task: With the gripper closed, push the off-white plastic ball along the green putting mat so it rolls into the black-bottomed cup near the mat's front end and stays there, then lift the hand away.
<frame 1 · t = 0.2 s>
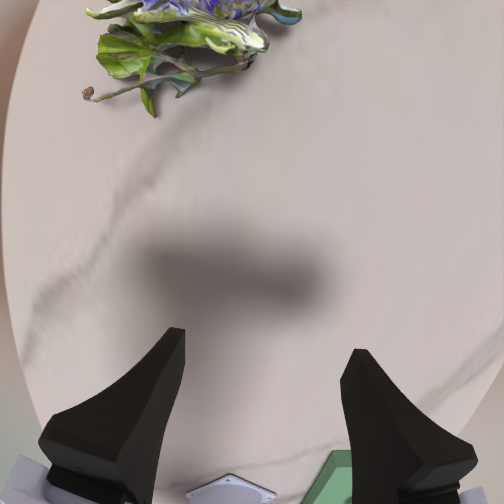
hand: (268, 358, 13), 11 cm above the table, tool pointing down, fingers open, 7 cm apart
passion flower: (193, 49, 19), on the table
putting mat: (345, 497, 33), on the table
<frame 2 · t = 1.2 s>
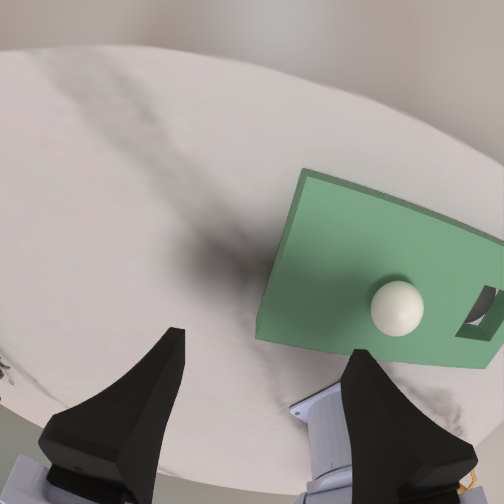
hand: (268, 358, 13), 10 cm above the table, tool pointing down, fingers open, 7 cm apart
ball: (397, 308, 19), point 4 cm above the table, touching putting mat
putting mat: (419, 286, 23), on the table
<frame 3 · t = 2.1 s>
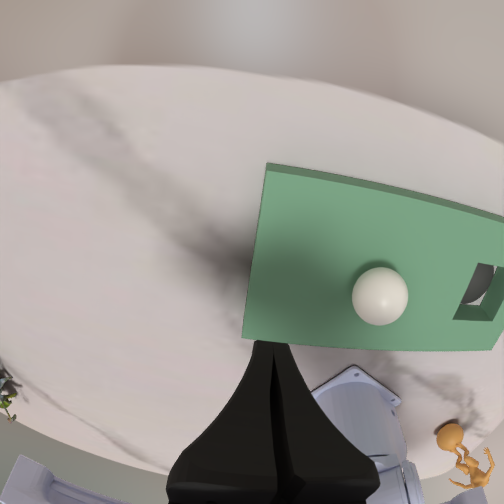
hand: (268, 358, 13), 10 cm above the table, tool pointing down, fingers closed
figurine: (450, 424, 33), on the table
ball: (380, 296, 19), point 4 cm above the table, touching putting mat
putting mat: (409, 270, 22), on the table
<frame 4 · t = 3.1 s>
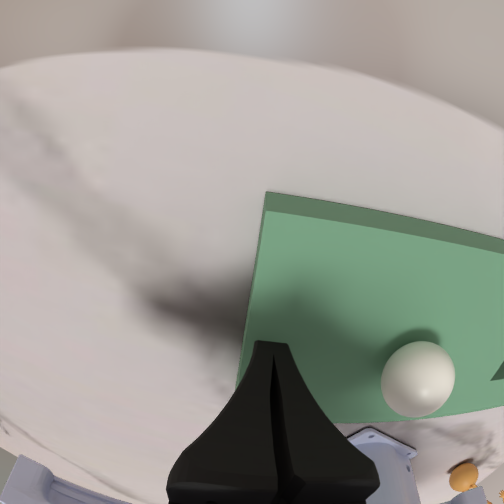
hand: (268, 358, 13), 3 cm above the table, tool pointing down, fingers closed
figurine: (464, 463, 27), on the table
ball: (418, 379, 12), point 4 cm above the table, touching putting mat
putting mat: (447, 326, 16), on the table
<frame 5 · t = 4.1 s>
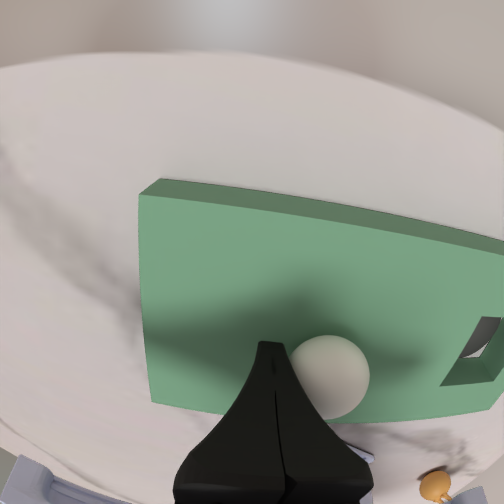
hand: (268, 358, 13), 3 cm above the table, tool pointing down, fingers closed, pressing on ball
figurine: (437, 470, 27), on the table
ball: (326, 377, 12), point 4 cm above the table, touching gripper, putting mat
putting mat: (382, 323, 16), on the table
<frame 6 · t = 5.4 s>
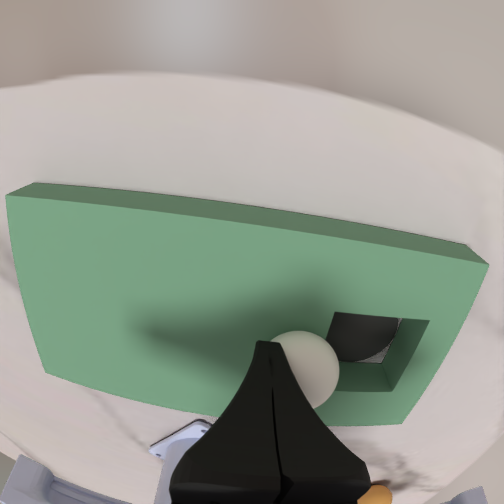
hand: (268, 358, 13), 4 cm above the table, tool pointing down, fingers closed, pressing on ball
figurine: (379, 484, 27), on the table
ball: (297, 371, 13), point 4 cm above the table, tilted 129°, touching gripper, putting mat
putting mat: (233, 314, 17), on the table
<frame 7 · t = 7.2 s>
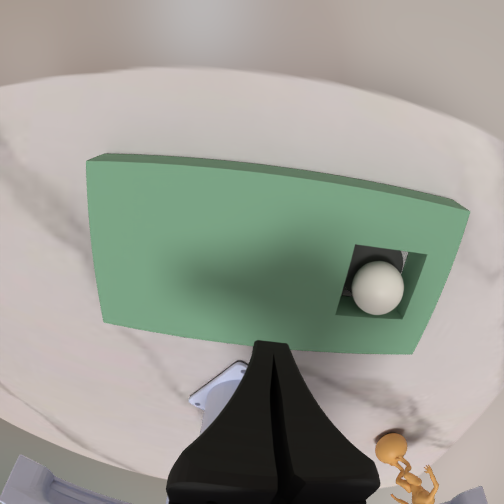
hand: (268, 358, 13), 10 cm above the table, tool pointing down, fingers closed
figurine: (394, 434, 32), on the table
ball: (377, 287, 20), point 2 cm above the table, tilted 20°, touching putting mat
putting mat: (274, 255, 22), on the table
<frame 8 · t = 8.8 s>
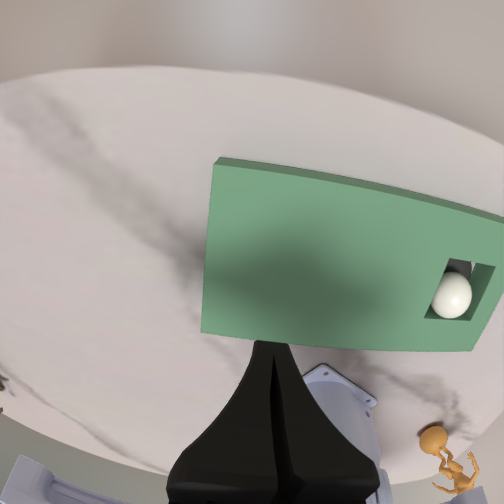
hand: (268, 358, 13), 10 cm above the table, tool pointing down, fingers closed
figurine: (434, 427, 33), on the table
ball: (450, 295, 21), point 2 cm above the table, touching putting mat
putting mat: (375, 265, 22), on the table
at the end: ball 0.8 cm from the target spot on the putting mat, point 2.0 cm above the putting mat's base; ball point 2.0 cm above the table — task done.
